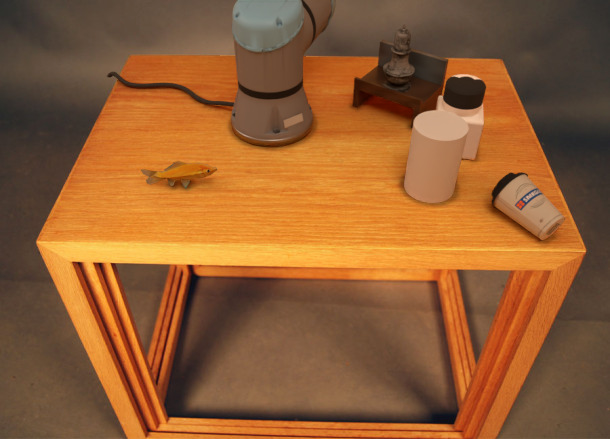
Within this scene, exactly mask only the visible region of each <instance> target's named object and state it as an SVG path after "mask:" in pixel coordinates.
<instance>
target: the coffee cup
mask: <svg viewBox="0 0 610 439" xmlns="http://www.w3.org/2000/svg"><path fill="white" fill-rule="evenodd" d="M491 205H492V207H493V208H495V209H497V210H499V211H501V212H502V213H503V214H505V215H506V216H507V217H509V218H510V219H512V220H513V221H515V222H516V223H517V224H519V225H520V226H521V227H523V228H524V229H526V230H527V231H528V232H530V233H531V234H532V235H534V236H535V237H536V238H538V239H540V241H544V240H546V239H548V238H550V237H551V236H552V235H553V234H554V233H555V232H557V230H559V228H560V227H561V226H562V225H563V224H564V222H565V220H566V216H564V215H563V213H562V212H561V211H560V210H559V209H558V208H557V207H556V206H555V205H554V204H553V203H552V201H551V200H550V199H549V198H548V197H547V196H546V195H545V194H544V193H543V192H542V191H541V189H539V188H538V186H537V185H536V184H535V183H534V182H533V181H532V180H531V179H530V177H529V174H528V173H526V172H523V171H522V172H521V171H519V172H517V173H515V172H508V173H506V174H505V175H504V176H502V178H501V179H499V180H498V182H497V183H496V184H495V186H494V188H493V189H492V190H491Z"/></svg>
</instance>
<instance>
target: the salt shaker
mask: <svg viewBox="0 0 610 439" xmlns="http://www.w3.org/2000/svg"><path fill="white" fill-rule="evenodd" d="M401 27H402V28H399V29H397V30H396V31H395V33H394V41H393V43H394V46H393V47H392V48H391V50H392V51H393V54H392V60H391V62H388V63H386V64H385V65H384V66H383V71H384V74H385V77H386V79H387V80H386V81H384V82H383V86H385V87H388V88H390V89H393V90H396V91H399V92H402V93H403V92H407V91H408V90H410V88H411V85H410V83H409V82H408V81H409V80H410V78H411V77H412V74H413V73H414V72H415V68H414V67H413V66H412V65H411V64H409V63H408V58H409V53H410V52H411V48H412V47H410V46H411V39H412V33H411V31H410V30H408V29H407V26H406V24H403V25H402V26H401Z"/></svg>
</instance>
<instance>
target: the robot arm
mask: <svg viewBox="0 0 610 439" xmlns="http://www.w3.org/2000/svg"><path fill="white" fill-rule="evenodd" d="M336 3H337V1H336V0H236V2H235V4H234V5H233V8H232V12H231V16H232V18H231V19H232V22H231V34H232V37H233V38H232V39H233V47H234V48H233V49H234V59H235V67H236V68H235V69H236V79H237V90H236V95H235V98H234V101H225V100H211V99H206V98H203V97H202V96H199V95H198V94H197V93H195V92H194V91H193V90H191V89H190V88H188V87H186V86H185V85H182V84H178V83H174V82H149V83H147V82H145V83H139V82H132V81H128V80H126V79H125V78H123V77H122V76H121V75H120V74H119V73H118V72H116V71H110V72H109V73H108V74H107V75H106V78H112V77H114V78H115V79H117V81H119V82H120V83H121V84H123V85H124V86H126V87H129V88H136V89H150V88H173V89H178V90H180V91H183V92H185V93H187V95H189V96H190V97H192V98H193V99H194V100H196V101H197V102H199V103H201V104H204V105H209V106H222V107H231V108H232V110H231V115H230V116H231V117H230V124H231V129H232V132H233V133H234V135H235V136H236V137H238V138H239V139H240V140H242V141H244V142H246V143H248V144H251V145H254V146H259V147H272V148H273V147H282V146H287V145H292V144H294V143H297V142H298V141H300V140H302V139H304V138H306V137H307V136H308V134H310V132H311V131H312V129H313V126H314V115H313V110H312V107H311V105H310V103H309V100H308V97H307V94H306V90H305V87H304V56H305V53H306V51H308V50H309V48H310V47H311V46H312V44H313V43H314V42H315V41H316V39H317V38H318V37H319V36H320V35H322V33H323V32H324V31H326V29H327V28H328V26H329V24H330V22H331V20H332V18H333V16H334V13H335V12H336V5H337V4H336Z"/></svg>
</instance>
